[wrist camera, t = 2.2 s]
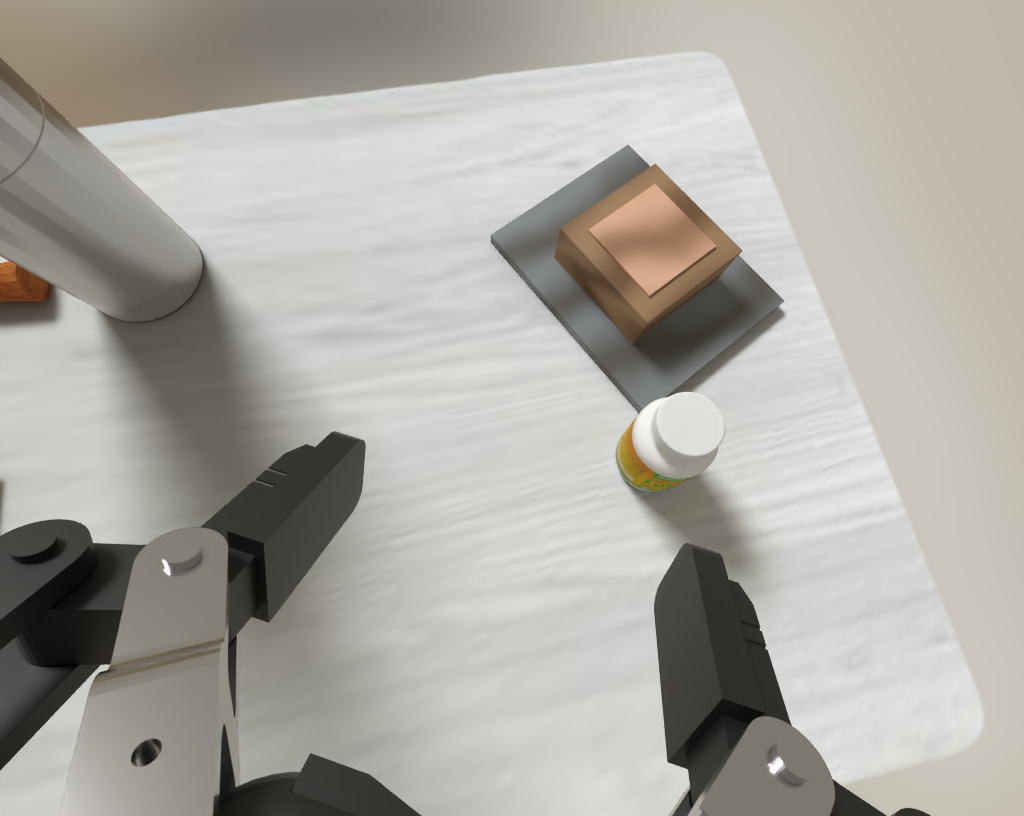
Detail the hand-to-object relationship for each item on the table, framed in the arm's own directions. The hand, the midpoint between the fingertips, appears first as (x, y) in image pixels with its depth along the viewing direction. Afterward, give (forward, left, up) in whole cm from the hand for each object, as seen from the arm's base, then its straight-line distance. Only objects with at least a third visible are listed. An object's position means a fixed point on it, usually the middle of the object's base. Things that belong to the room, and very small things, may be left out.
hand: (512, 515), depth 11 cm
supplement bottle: (+3, +12, -24) cm, 27 cm away
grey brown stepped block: (-10, +22, -24) cm, 34 cm away
